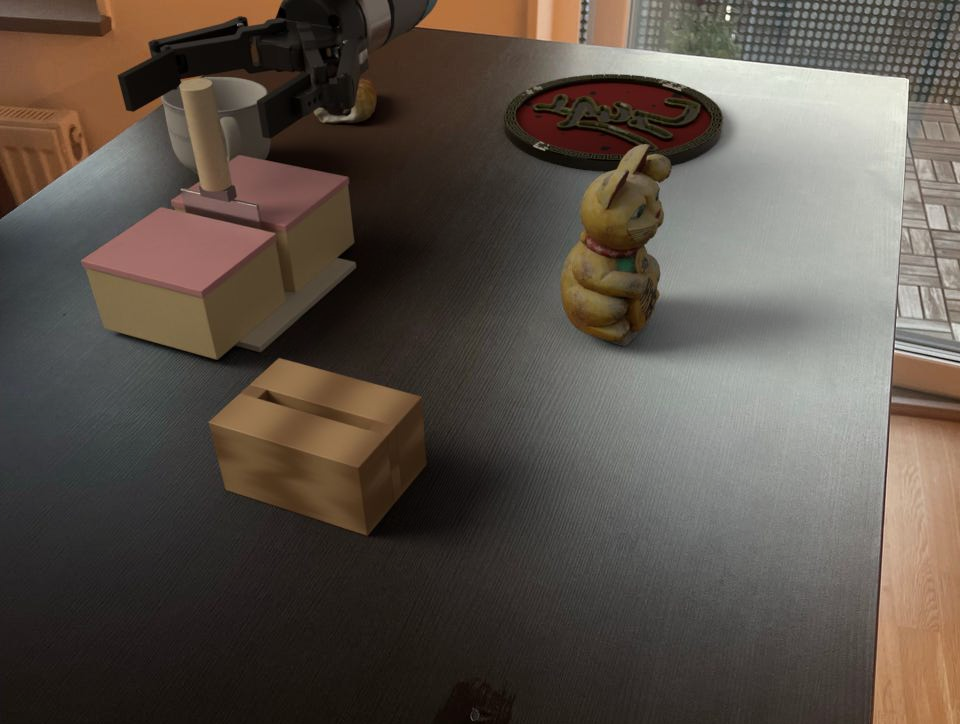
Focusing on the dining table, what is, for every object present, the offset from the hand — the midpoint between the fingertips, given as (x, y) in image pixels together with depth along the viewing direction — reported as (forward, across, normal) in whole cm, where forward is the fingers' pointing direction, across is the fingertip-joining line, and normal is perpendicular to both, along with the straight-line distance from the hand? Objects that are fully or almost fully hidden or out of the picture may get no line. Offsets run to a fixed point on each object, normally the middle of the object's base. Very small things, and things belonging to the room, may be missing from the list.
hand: (192, 106), depth 82 cm
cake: (-1, 0, -16) cm, 16 cm away
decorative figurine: (-9, -33, -16) cm, 38 cm away
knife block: (+19, -22, -16) cm, 33 cm away
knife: (-1, 0, -16) cm, 16 cm away
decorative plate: (-50, -18, -16) cm, 55 cm away
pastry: (-41, +12, -16) cm, 46 cm away
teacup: (-21, +15, -16) cm, 30 cm away
